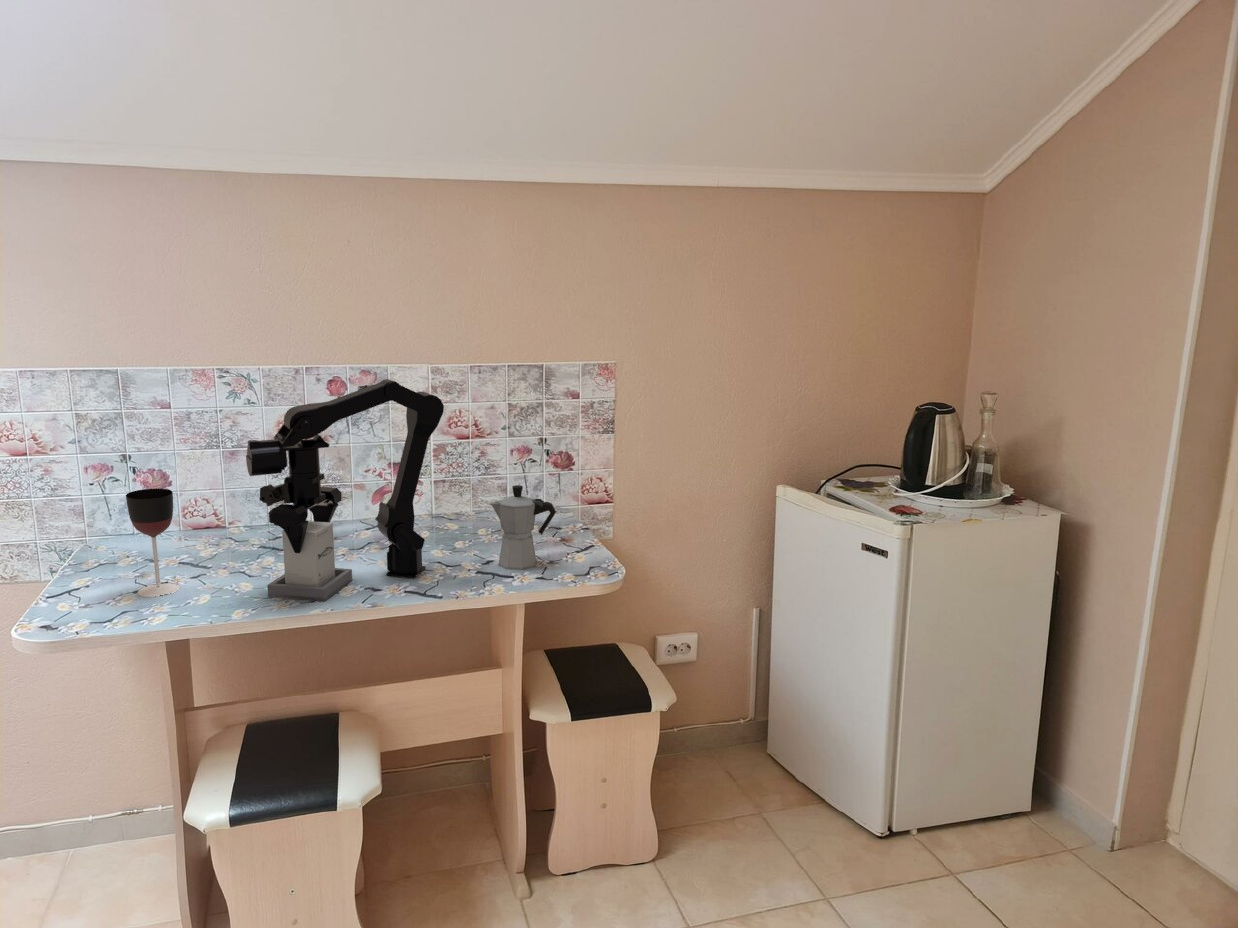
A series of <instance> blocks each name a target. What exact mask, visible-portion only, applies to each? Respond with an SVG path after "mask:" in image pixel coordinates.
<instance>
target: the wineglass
mask: <svg viewBox="0 0 1238 928" xmlns="http://www.w3.org/2000/svg"><path fill="white" fill-rule="evenodd" d="M125 499H126V506H127V512H128V515H129V519H130V522H131V525H133V527H134V528H135V529H136V531H137V532H139V533H141V534H144V535H145V536H146V535H147V536H148V537H151V545H152V555H153V556H152V557H153V566H154V575H155V577H154V578H155V584H151V585H148V586H145V587H143V588H140V589H139V590H138V591H137V595H138V596H140V597H144V598H156V597H157V598H158V597H161V596H160V595H163V596H165V595H164V594H168V595H171V594H173V593H175V592H178V591H179V590H180V589H181V588H180V585H178V584H175V583H170V582H169V583H161V576H160V566H159V555H158V546H157V545H158V543H157V536H159V535H160V534H162V533H164V532H165V531H167V529H168V528H169V527H170V526H171V523H172V521H173V515H174V495H173V491H172V490H171V489H168V488H144V489H143V488H142V489H137V490H133V491H130V492H128V493H126V494H125ZM177 590H178V591H177ZM170 593H171V594H170ZM155 596H156V597H155Z"/></svg>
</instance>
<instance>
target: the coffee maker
mask: <svg viewBox="0 0 1238 928" xmlns="http://www.w3.org/2000/svg"><path fill="white" fill-rule="evenodd" d="M523 488H524V487H523V485H519V484H518V485H517V484H516V485H512V493H513V495H512V496H508V497H504V498H502V499H499V500H497V501H493V502H490V503H488V505H490V506H491V507H492V508H493V510H494V511H495V514H496V516H497V517H498V519H499V522H500V526H501V530H503V535H502V540H501V546H500V553H499V560H498V566H499V567H501V568H504V569H506V570H513V571H514V570H518V571H519V570H520V571H522V570H523V571H524V570H527V569H530V568H534V567H536V564H537V556H536V550H535V545H534V538H533V534H532V531H533V530H534V529H535V528H534V527H535V521H536V515H539V514H542V513H545V512H549V515H548V516H547V518H545V520H544V522H543V524H541V527H540V528H539V529H538V531H537V532H538V534H540V535H541V536H542V535H543V534H544V532H545V530H546V529H547V527H548V526H549V524H550V522H552V519H553V518H554V516H555V515H556V513H557V511H556V508H555V507H554V504H553V503H551V502H549V501H544V500H543V499H542V498H532V497H527V496H523V495H522V494H523V493H522V492H523Z"/></svg>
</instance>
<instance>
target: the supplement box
mask: <svg viewBox="0 0 1238 928" xmlns="http://www.w3.org/2000/svg"><path fill="white" fill-rule="evenodd" d="M307 521H308V526H307V530H306V534H305V538H304V542H303V546H302V549H301V552H300V553H295V552H294V550H293V548H292V546H291V543H290V541H289V539H288V537H287V535H286V533H285V531H284V530H283V529H282V530H281V533H282V550H283V565H284V566H283V567H284V574H285V584H287V585H300V586H313V587H323V586H324V585H326V584H327V583H329V582H330V581H331V580H333V579H334V578H335V568H336V564H335V544H334V541H335V540H334V526H333V525H334V523H333V522H330V523H328V522H314V520H312V521H311V520H307Z"/></svg>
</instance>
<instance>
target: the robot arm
mask: <svg viewBox="0 0 1238 928" xmlns="http://www.w3.org/2000/svg"><path fill="white" fill-rule="evenodd" d="M388 402H394V403H396V404H399V405H401V406H403V407H405V408H406V416H405V419H406V428H407V434H406V438H405V442H404V445H403V450H402V454H401V459H400V463H399V466H398V469H397V474H396V478H395V481H394V482H395V483H394V485H393V486H394V487H393V491H392V494H391V496H390V497H389V499H388V500H387V502H386V503H385V502H382V501H381V502H380V503H379V506H378V507H379V508H378V514H377V516H376V517H375V519H374V520H375V521H377V528H378V530H379V532H380V533H381V534H382V535H383V536H384V537H385V538H386V539H387V541H388V542H389V543H390V545H388V551H387V552H386V567H387V568H386V569H387V572H386V576H388V577H400V578H413V579H414V578H417V577H418V576H419V575H420V573H422V572H423V571H424V570H425V569H426V566H425V565H423V547H424V543H425V538H423V536H421V535H420V534H418V533H417V532H416V531H415V530H414V528H415V508H414V500H415V495H416V491H417V487H418V484H419V478H420V475H421V471H422V467H423V464H424V460H425V459H424V458H425V455H426V452H427V447H428V443H429V439H430V437H432V435H433V433H434V432H435V431H436V429H437V427H438V426H439V423H440V422H441V419H442V417H443V414H444V411H445V404H443V401H442V400H441V399H440V398H439V397H438V396H436V395H434V394H431V393H428V392H425V391H414V390H411V389H410V388H407V387H405V386H403V385H401V384H400V383H399V382H397V381H395V380H392V379H388V378H387V379H386V378H385V379H383V380H381V381H380V382H377V383H375V384H371V385H369V386H366V387H364V388H361V389H359V390H355V391H353V392H350V393H348V394H345V395H342V396H339V397H337V398H334V399H331V400H328V401H323V402H315V403H314V402H313V403H307V404H301V405H297V406H296V405H295V406H293V407H290V408H289V409H288V410H287V411H286V412H285V414H284V417H283V424H282V425H281V427H280V428H279V429H278V431H277V433H275V436H273V439H264V440H259V439H258V440H257V439H253V440H252V439H251V440H247V449H246V454H245V461H246V462H245V463H246V468H247V472H248V475H249V477H254V476H266V475H274V474H281V473H283V472H282V471H285V470H286V468H287V467H288V470H289V474H288V476H286V477H284V480H283V483H280V484H277V485H275V486H273V485H272V483H271V484H268V485H264V486H262V487H260V488H259V501H260V502H262V503H263V504H265V505H266V506H267V507H270V506H272V505H273V504H276V503H279V502H283V503H281V504H278V505H277V506H275V507H273V508H272V509H271V510H270V511H269V512H268V523H270V524H273V525H274V526H275V527H276V526H277V527H279V528H281V529H282V531H283V530H284V531H285V533H286V535H287V537H288V539H289V541H290V543H291V546H292V548H293V550H294V552H295V553H300V552H301V549H302V546H303V542H304V538H305V534H306V530H307V526H308V521H309V520H308V516H309V514H308V513H309V512H308V511H310V512H311V514H312V518H313V521H314V522H328V523H331V521H332V518H333V517H334V514H335V512H336V510H337V508H338V507H339V503H341V502H342V501H343V498H342V491H341V490H340V489H339V488H338V487H332V486H331V487H330V486H322V485H321V482H322V480H324V479H326V478H325V473H321V469H320V468H321V467H320V449H323V448H330V443H328V442H327V441H325V440H324V439H323V437H322V436H321V435H320V434H321V433H322V432H325V431H326V430H328V428H329V427H331V426H332V425H333V424H335V423H337V422H338V421H341V420H343V419H345V418H348V417H351V416H353V415H356V414H359V413H362V412H365V411H367V410H369V409H372V408H375V407H377V406H380V405H383V404H385V403H388ZM287 454H288V455H287ZM287 456H288V457H287Z"/></svg>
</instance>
